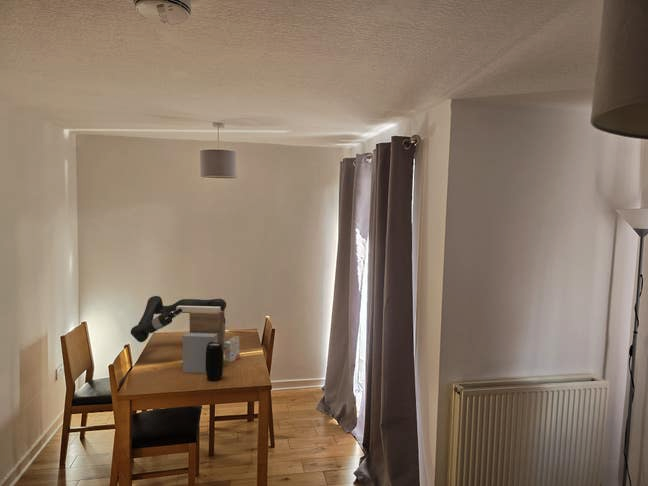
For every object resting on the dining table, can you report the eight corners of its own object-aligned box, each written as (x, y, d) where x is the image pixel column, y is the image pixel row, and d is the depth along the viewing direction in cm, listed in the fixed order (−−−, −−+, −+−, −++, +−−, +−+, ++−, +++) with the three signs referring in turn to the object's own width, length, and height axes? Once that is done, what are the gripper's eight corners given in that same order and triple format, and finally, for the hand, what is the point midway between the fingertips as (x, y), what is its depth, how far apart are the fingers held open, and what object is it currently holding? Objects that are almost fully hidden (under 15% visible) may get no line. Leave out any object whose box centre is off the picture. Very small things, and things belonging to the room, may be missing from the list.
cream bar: (178, 310, 259) (178, 305, 259) (220, 311, 257) (220, 306, 257) (176, 311, 256) (176, 306, 256) (218, 312, 254) (218, 307, 254)
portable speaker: (205, 376, 238) (204, 342, 237) (222, 375, 241) (222, 340, 240) (206, 382, 230) (206, 346, 229) (224, 380, 233) (224, 344, 232)
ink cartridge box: (233, 357, 273) (233, 334, 272) (239, 358, 270) (239, 335, 269) (224, 360, 266) (224, 337, 265) (230, 362, 263) (229, 338, 262)
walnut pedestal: (195, 361, 263) (194, 310, 261) (223, 363, 261) (223, 310, 259) (189, 366, 255) (189, 312, 253) (219, 367, 253) (219, 313, 251)
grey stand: (187, 368, 252) (187, 332, 250) (217, 369, 250) (217, 333, 249) (183, 372, 245) (182, 335, 244) (213, 373, 243) (213, 336, 242)
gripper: (153, 318, 252) (176, 305, 250) (164, 312, 266) (186, 300, 264) (159, 329, 252) (182, 316, 250) (170, 323, 266) (192, 311, 264)
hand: (184, 308), depth 257 cm, fingers open, 8 cm apart
